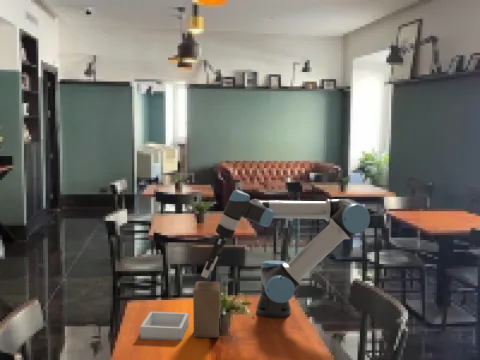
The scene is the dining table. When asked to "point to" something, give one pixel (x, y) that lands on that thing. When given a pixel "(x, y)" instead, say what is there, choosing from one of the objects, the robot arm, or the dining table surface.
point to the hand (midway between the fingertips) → (206, 273)
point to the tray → (164, 326)
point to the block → (206, 309)
